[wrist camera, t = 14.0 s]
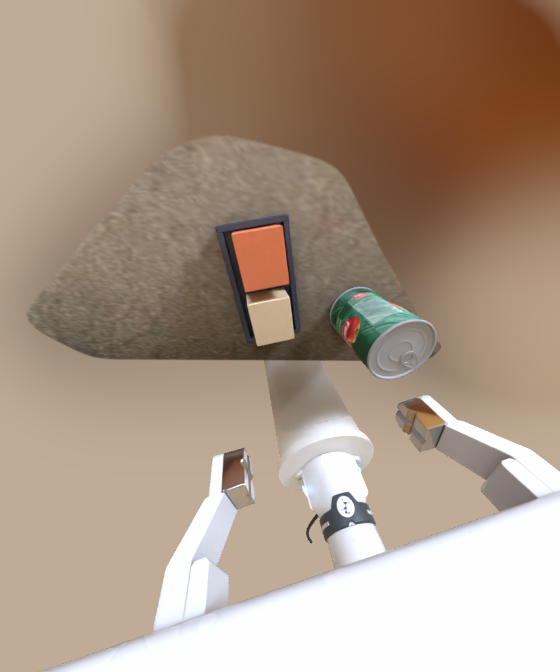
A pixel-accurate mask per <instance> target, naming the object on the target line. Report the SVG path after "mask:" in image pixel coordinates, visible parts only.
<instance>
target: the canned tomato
mask: <svg viewBox="0 0 560 672" xmlns="http://www.w3.org/2000/svg"><path fill="white" fill-rule="evenodd" d="M330 322H331V325H332V326H333V328H334V329H335V330H336V331H337V332H338V334H339V335H340V336H341V337H342V338H343V339H344V340H345V342H346V343H347V344H348V345H349V346H350V348H351V349H352V350H353V352H354V353H355V354H356V355H357V356H358V357H359V359H360V360H361V361H362V362H363V363H364V364H365V365H366V367H367V368H368V369H369V370H370V372H371V373H372V374H373V375H374V376H375V377H377V378H380V379H387V380H390V379H396V378H400V377H403V376H405V375H408V374H409V373H411V372H413V371H414V370H416V369H417V368H418V367H420V366H421V365H422V364H423V363H424V362H425V361H426V360H427V359H428V358H429V356H430V355H431V353H432V352H433V350H434V348H435V345H436V341H437V333H436V330H435V328H434V326H433V325H431V324H430V323H429V322H427V321H424V320H422V319H421V318H419V317H417V316H416V315H414V314H412V313H411V312H408V311H407V310H406V309H403V308H402V307H400V306H398V305H397V304H394V303H393V302H391V301H389V300H388V299H386V298H384V297H382V296H381V295H379V294H377V293H375V292H373V291H372V290H371V289H368V288H366V287H355V288H351V289H349V290H347V291H345V292H344V293H342V294H341V295H340V296H339V297H338V298H337V299H336V301H335V302H334V304H333V306H332V308H331V311H330Z"/></svg>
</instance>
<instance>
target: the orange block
mask: <svg viewBox="0 0 560 672" xmlns="http://www.w3.org/2000/svg"><path fill="white" fill-rule="evenodd" d="M231 236H232V240H233V244H234V248H235V252H236V256H237V261H238V265H239V269H240V273H241V277H242V281H243V285H244V289H245V292H250V291H256V290H261V289H266V288H271V287H276V286H281V285H286V284H289V277H288V268H287V260H286V251H285V243H284V234H283V226H281V225H277V224H274V225H268V226H262V227H256V228H250V229H245V230H239V231H233V232H232V234H231Z"/></svg>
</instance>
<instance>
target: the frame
mask: <svg viewBox="0 0 560 672" xmlns="http://www.w3.org/2000/svg"><path fill="white" fill-rule="evenodd" d="M274 224H277V225H281V226H283V234H284V243H285V251H286V260H287V268H288V277H289V284H286V285H281V286H276V287H271V288H266V289H261V290H256V291H250V292H245V289H244V285H243V281H242V277H241V273H240V269H239V265H238V261H237V256H236V252H235V248H234V244H233V240H232V236H231V234H232V232H233V231H239V230H245V229H250V228H256V227H262V226H268V225H274ZM215 228H216V231H217V235H218V239H219V242H220V246H221V249H222V253H223V256H224V260H225V264H226V267H227V271H228V274H229V278H230V281H231V285H232V289H233V292H234V296H235V299H236V303H237V306H238V310H239V314H240V317H241V321H242V324H243V328H244V332H245V335H246V339H247V342H248V343H252V342H256V339H255V335H254V331H253V327H252V323H251V319H250V315H249V311H248V307H247V298H246V294H250V293H256V292H261V291H266V290H271V289H276V288H281V287H283V288H284V289H285V291H286V293H287V294H288V296H289V297H290V305H291V313H292V321H293V329H294V333H298V332H300V325H299V316H298V306H297V296H296V287H295V277H294V267H293V258H292V248H291V238H290V229H289V219H288V214H285V215H278V216H273V217H267V218H261V219H255V220H249V221H244V222H238V223H232V224H226V225H220V226H216V227H215Z"/></svg>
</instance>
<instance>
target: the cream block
mask: <svg viewBox="0 0 560 672" xmlns="http://www.w3.org/2000/svg"><path fill="white" fill-rule="evenodd" d="M246 298H247V307H248V311H249V315H250V319H251V323H252V327H253V331H254V335H255V339H256V343H257V346H262V345H267V344H271V343H276V342H280V341H285V340H290V339H294V338H295V337H294V329H293V321H292V313H291V305H290V297H289V296H288V294H287V293H286V291H285V289H284V288H283V287H281V288H276V289H271V290H266V291H261V292H256V293H250V294H246Z"/></svg>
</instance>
